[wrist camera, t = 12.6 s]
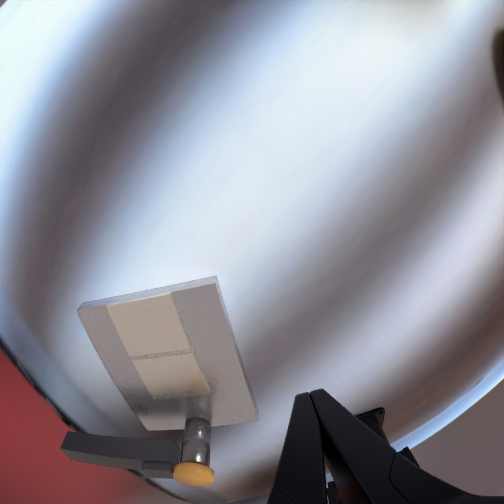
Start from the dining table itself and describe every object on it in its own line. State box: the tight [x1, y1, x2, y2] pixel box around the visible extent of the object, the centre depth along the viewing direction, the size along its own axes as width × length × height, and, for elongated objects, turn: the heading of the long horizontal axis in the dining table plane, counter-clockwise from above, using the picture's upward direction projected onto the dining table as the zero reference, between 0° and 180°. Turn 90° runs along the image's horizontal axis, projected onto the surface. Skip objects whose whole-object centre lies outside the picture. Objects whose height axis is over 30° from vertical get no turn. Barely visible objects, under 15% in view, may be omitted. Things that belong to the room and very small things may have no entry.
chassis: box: [77, 276, 259, 467], centre depth 19 cm, size 15×11×6 cm
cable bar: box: [60, 431, 214, 487], centre depth 18 cm, size 15×3×4 cm, turn 100°
